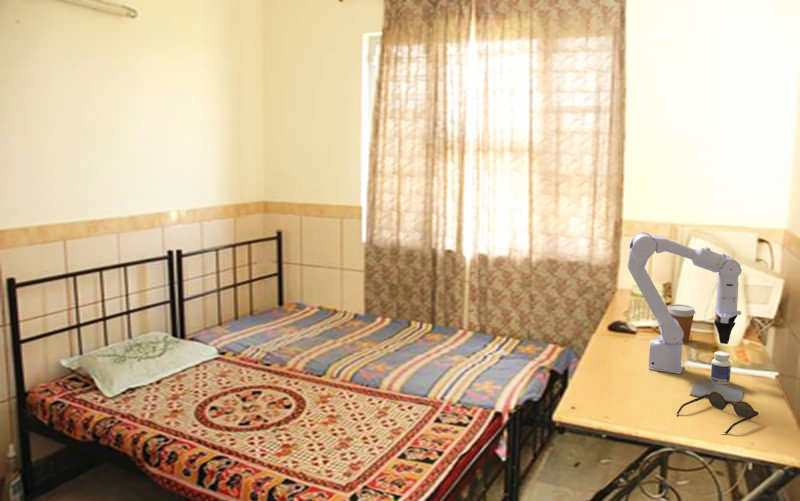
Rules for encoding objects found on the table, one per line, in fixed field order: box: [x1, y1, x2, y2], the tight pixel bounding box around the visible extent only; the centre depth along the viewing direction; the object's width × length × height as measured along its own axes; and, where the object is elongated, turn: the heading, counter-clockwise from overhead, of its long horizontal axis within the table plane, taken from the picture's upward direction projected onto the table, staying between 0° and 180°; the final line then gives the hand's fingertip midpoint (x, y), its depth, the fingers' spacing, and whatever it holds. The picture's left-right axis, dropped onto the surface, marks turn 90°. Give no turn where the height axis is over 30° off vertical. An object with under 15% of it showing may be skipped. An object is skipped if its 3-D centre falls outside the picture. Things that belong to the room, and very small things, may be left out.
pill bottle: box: [709, 350, 732, 385], centre depth 197 cm, size 5×5×9 cm
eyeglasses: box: [676, 392, 759, 434], centre depth 172 cm, size 15×15×5 cm
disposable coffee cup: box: [667, 303, 696, 344], centre depth 236 cm, size 10×10×12 cm
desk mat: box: [689, 379, 745, 404], centre depth 190 cm, size 13×12×1 cm
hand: (725, 339), depth 203 cm, fingers open, 7 cm apart
